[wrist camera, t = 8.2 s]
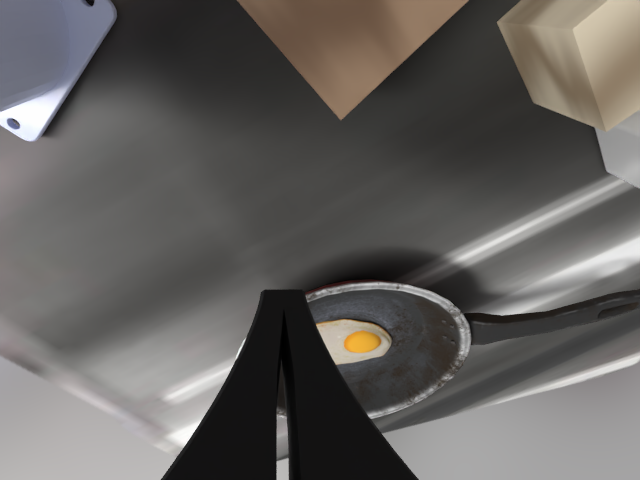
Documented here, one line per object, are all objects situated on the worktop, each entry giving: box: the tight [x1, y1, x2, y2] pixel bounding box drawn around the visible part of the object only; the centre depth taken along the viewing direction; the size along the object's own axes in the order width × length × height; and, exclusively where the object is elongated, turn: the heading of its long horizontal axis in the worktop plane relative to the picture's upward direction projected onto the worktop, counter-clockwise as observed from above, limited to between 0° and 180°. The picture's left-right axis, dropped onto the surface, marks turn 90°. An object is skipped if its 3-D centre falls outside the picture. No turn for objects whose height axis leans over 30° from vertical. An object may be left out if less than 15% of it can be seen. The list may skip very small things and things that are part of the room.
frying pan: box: [236, 279, 640, 419], centre depth 26 cm, size 19×32×4 cm, turn 106°
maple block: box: [497, 0, 640, 132], centre depth 14 cm, size 5×5×5 cm
